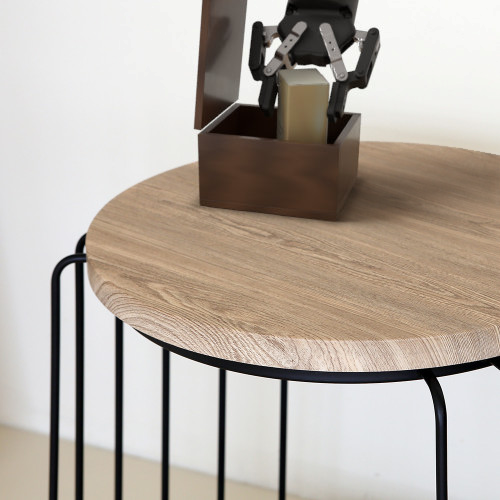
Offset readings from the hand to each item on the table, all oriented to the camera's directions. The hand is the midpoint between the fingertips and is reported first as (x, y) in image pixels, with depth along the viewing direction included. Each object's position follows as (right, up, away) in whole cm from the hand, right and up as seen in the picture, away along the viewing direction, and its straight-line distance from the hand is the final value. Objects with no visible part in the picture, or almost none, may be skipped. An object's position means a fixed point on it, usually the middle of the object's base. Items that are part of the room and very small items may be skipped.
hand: (298, 116), depth 82 cm
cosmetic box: (0, -7, +5) cm, 9 cm away
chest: (-2, -7, +6) cm, 9 cm away
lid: (-7, +8, +1) cm, 11 cm away
